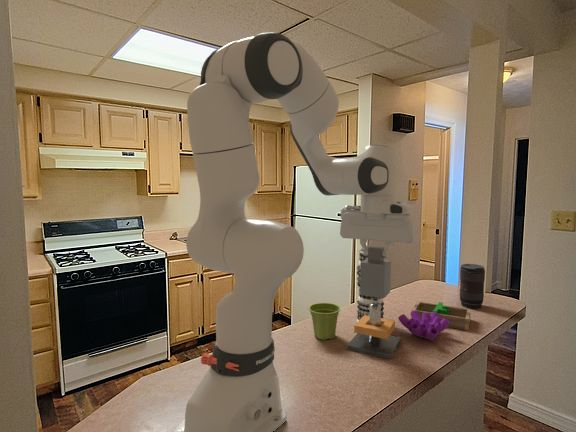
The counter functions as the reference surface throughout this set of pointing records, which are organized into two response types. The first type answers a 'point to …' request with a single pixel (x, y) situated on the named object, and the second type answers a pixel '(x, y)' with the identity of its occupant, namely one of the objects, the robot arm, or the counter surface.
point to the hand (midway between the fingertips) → (375, 256)
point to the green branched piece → (441, 309)
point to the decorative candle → (362, 299)
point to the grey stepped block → (375, 274)
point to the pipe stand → (375, 344)
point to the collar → (374, 327)
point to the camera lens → (472, 285)
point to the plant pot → (324, 319)
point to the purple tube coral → (424, 324)
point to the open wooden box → (455, 315)
